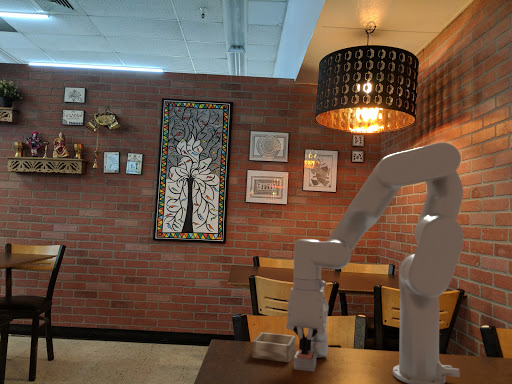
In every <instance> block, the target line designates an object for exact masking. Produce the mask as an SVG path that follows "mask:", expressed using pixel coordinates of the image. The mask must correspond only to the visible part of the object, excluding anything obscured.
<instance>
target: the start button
mask: <svg viewBox="0 0 512 384" xmlns="http://www.w3.org/2000/svg"><path fill="white" fill-rule="evenodd" d="M298 351H299V353H298V357H300V358H308V359H312V358H313V351H308V354H307V355H305V353H304V354H301V350H298Z"/></svg>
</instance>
